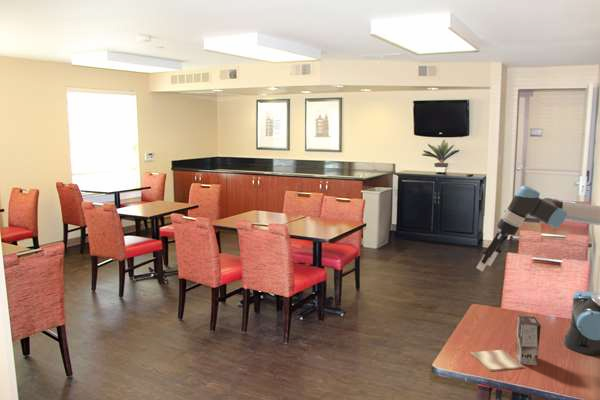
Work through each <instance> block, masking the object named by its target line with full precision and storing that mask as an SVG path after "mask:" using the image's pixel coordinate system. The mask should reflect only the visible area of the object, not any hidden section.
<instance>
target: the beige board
mask: <svg viewBox="0 0 600 400" xmlns="http://www.w3.org/2000/svg"><path fill="white" fill-rule="evenodd" d="M470 355H471V356H472V357H474V359H475V360H477V362H479V363H480V364H482V366H484V367H485V368H486V369H487V370H488V371H489V372H492V371H505V370H506V371H507V370H514V369H525V366H524V364H520V362H519V360H517V359H515V358H514V357H512V356H511V355H510V354H508V353H507V352H506V351H505V350H504V349H496V350H493V349H492V350H482V351H471V352H470Z"/></svg>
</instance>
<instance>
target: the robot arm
mask: <svg viewBox="0 0 600 400" xmlns="http://www.w3.org/2000/svg"><path fill="white" fill-rule="evenodd" d="M540 194H541V193H540V192H539V191H538V190H536V189H534V188H533V187H530V186H528V185H525V184H524V185H521V186H520V187H519V188H518V190H517V192H516V193H515V195H514V196H513V197H512V200H511V202H510V203H509V205H508V206H507V209H504V210H503V212H504V213H503V215H502V218H500V220H499V221H498V223H497V224H496V226H497V229H499V230H500V231H498V232H497V233H496V235H495V237H494V238H493V239H492V241H491V243H490V244H489V246H488V247H487V248H486V250H485V251H483V252H482V254H483V255H482V257H481V258H480V260H479V262H478V264H477V265H476V267H475V268H476V269H478V270H479V271H481V272H484V270H485V268H486V266H489V267H491V266H492V264H493V263H494V261H495V260H496V258H497V256H498V254H501V253H502V248H503V246H504V245H505V243H506V242H507V240H508V239H509V236H510V235H511V236H515V235H516V234H517V232H518V230H519V229H520V227H521V226H522V224H523V223H524V221H525V220H526V218H527V216H530V217H533V218H535V219H536V220H538V221H540V222H542V223H544V224H546V225H547V226H551V227H552V228H554V229H558V228H560V227H561V226H562V225H563V224H564V222H565V221H568V222H575V223H583V224H589V225H596V226H600V205H595V204H593V205H592V204H585V203H579V202H573V201H572V202H571V201H563V200H555V199H552V198H549V197H544V198H540ZM563 339H564V340H563V344H564V345H565V347H567V348H568V349H570V350H572V351H575V352H577V353H581V354H585V355H590V356H591V355H592V356H593V355H594V356H595V355H596V356H598V355H600V292H599V293H598V292H594V291H593V292H592V291H585V290H582V291H581V290H579V291H578V290H576V291H575V292H574V293H573V297H572V308H571V316H570V326H569V328H568V330H567V331H566V334H565V335H564V337H563Z"/></svg>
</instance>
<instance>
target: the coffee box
mask: <svg viewBox="0 0 600 400" xmlns="http://www.w3.org/2000/svg"><path fill="white" fill-rule="evenodd" d="M541 327H542V325H541V323H540V322H539V321H538V320H537V317H535V316H525V315H524V316H522V315H518V316H517V327H516V339H515V341H516V342H515V353H514V354H515V355H516V358H517V361H518V362H519V363H520V364H521V365H530V366H537V365H538V360H539V359H538V356H539V347H540V338H541Z"/></svg>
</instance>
